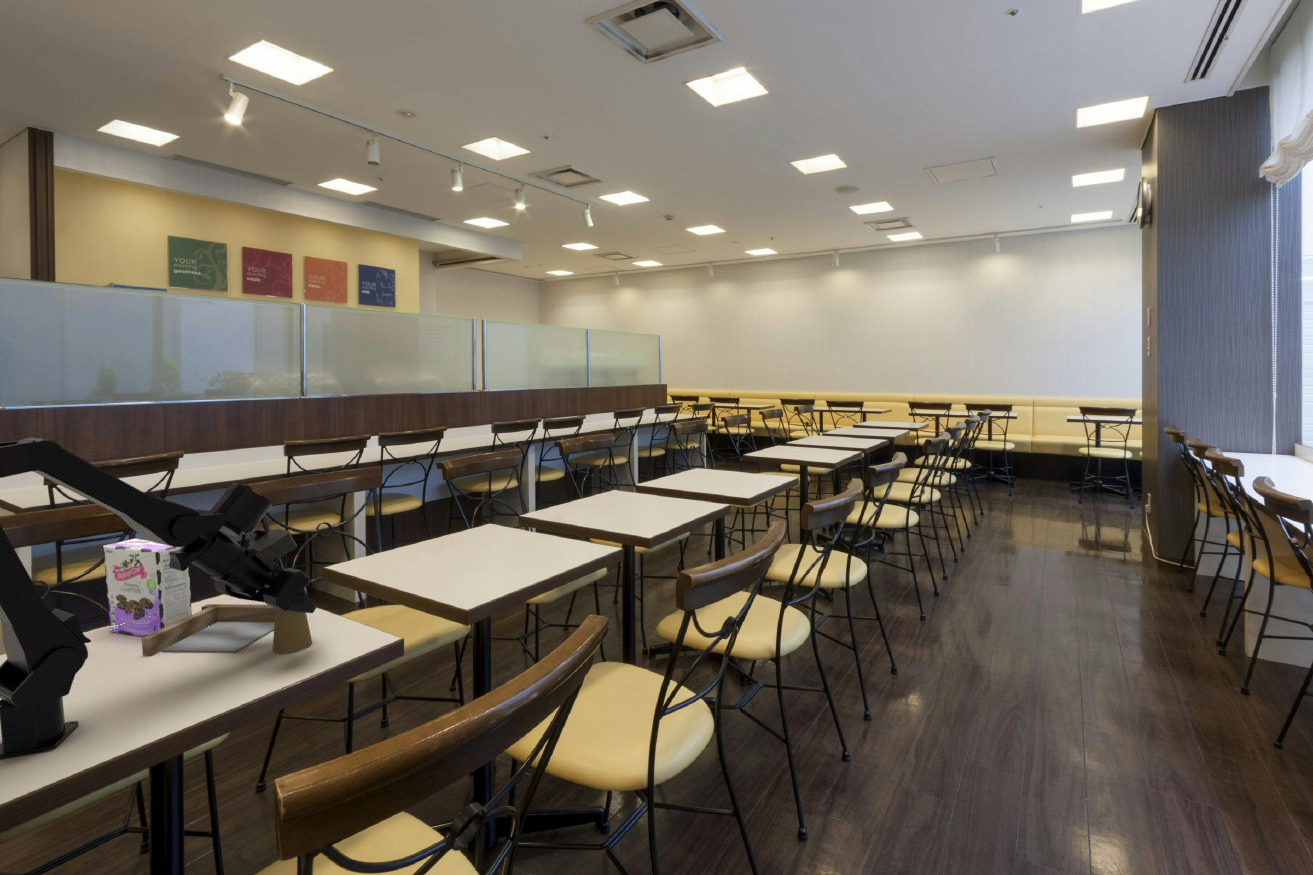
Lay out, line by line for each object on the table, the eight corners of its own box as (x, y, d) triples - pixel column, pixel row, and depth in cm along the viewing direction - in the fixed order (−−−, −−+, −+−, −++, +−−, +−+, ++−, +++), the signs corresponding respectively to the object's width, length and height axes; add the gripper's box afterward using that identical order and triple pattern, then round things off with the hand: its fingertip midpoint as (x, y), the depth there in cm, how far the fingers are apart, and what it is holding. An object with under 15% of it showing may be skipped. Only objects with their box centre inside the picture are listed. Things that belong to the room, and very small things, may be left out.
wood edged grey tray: (243, 656, 105) (242, 639, 105) (134, 655, 106) (132, 638, 106) (303, 620, 122) (302, 604, 121) (208, 619, 123) (207, 604, 122)
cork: (294, 654, 106) (290, 590, 105) (263, 652, 107) (259, 588, 106) (320, 640, 112) (317, 579, 111) (290, 638, 113) (287, 577, 112)
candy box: (108, 632, 117) (100, 544, 115) (142, 621, 122) (135, 537, 121) (162, 640, 112) (155, 549, 111) (195, 628, 118) (188, 541, 117)
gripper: (294, 522, 100) (360, 572, 110) (229, 512, 109) (296, 559, 119) (245, 585, 93) (320, 632, 104) (180, 568, 102) (255, 613, 113)
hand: (298, 606), depth 110 cm, fingers open, 9 cm apart
